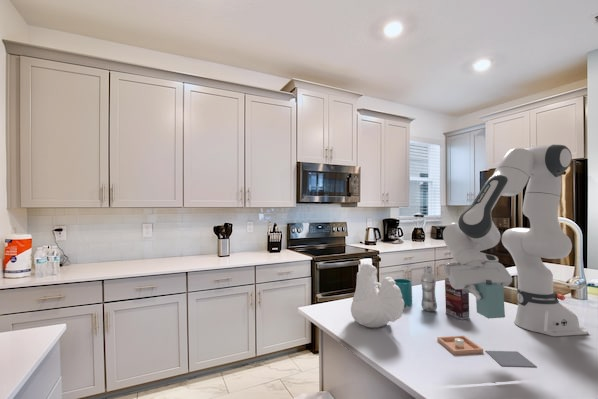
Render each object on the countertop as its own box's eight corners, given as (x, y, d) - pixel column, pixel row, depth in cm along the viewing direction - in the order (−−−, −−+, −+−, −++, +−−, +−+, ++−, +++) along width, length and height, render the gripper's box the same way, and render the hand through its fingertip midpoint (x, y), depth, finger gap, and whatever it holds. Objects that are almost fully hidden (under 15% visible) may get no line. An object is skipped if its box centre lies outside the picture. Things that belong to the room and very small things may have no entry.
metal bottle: (438, 313, 133) (437, 269, 133) (423, 312, 134) (421, 268, 135) (435, 308, 139) (434, 266, 140) (420, 307, 141) (419, 265, 141)
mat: (517, 353, 97) (517, 351, 97) (537, 369, 88) (536, 366, 88) (485, 353, 98) (485, 350, 98) (501, 368, 89) (501, 365, 89)
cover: (492, 311, 99) (490, 277, 99) (504, 317, 94) (503, 282, 94) (476, 312, 99) (475, 278, 99) (488, 318, 93) (486, 283, 93)
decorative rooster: (345, 318, 129) (343, 262, 130) (376, 314, 134) (375, 259, 134) (376, 344, 105) (374, 274, 106) (413, 337, 110) (411, 270, 111)
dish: (463, 340, 107) (463, 332, 107) (483, 354, 97) (483, 346, 97) (437, 342, 106) (437, 334, 106) (454, 356, 96) (454, 347, 96)
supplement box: (445, 313, 133) (444, 278, 133) (452, 311, 135) (451, 277, 135) (462, 320, 125) (461, 282, 125) (470, 318, 127) (469, 281, 127)
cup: (384, 302, 149) (384, 280, 149) (404, 299, 153) (403, 278, 153) (395, 308, 141) (395, 284, 141) (416, 305, 144) (415, 282, 145)
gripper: (445, 259, 103) (464, 295, 93) (501, 256, 104) (525, 291, 94) (439, 269, 107) (456, 305, 97) (492, 266, 108) (515, 301, 98)
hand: (491, 298), depth 96 cm, fingers closed on cover, 5 cm apart
